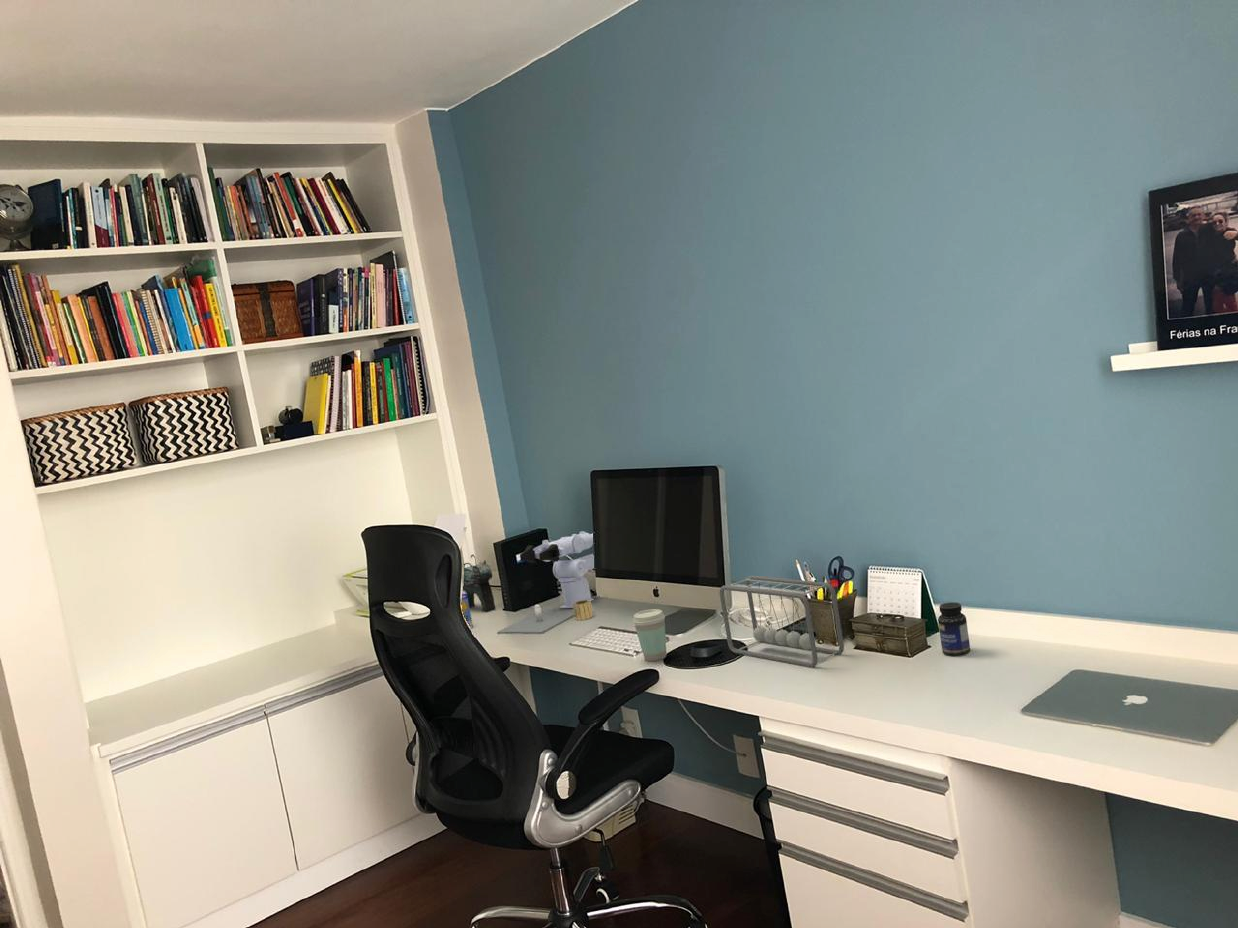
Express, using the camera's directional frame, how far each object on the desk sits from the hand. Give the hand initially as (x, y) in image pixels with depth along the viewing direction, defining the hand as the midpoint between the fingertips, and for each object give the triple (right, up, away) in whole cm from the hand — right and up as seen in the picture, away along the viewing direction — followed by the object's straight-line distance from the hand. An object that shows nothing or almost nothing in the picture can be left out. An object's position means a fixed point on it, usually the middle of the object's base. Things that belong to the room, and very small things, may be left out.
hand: (530, 557), depth 317 cm
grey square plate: (+3, -21, +3) cm, 22 cm away
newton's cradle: (+69, -17, -72) cm, 101 cm away
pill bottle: (+105, -13, -92) cm, 140 cm away
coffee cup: (+38, -21, -56) cm, 71 cm away
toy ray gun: (-22, -22, +39) cm, 50 cm away
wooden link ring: (+17, -19, -1) cm, 26 cm away
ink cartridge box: (-25, -25, +13) cm, 38 cm away
